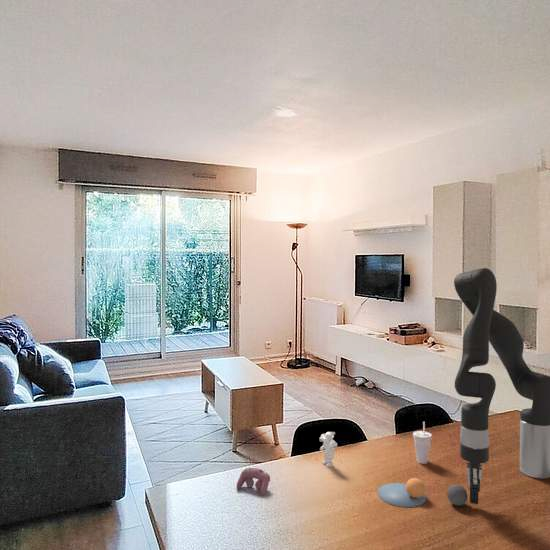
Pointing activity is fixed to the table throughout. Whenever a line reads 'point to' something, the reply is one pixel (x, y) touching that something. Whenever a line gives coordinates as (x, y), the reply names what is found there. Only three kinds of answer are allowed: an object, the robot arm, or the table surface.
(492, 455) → the table surface
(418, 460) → the smoothie
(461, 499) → the grey ball
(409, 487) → the object ball
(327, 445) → the white humanoid figurine
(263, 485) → the red animal figurine
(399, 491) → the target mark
